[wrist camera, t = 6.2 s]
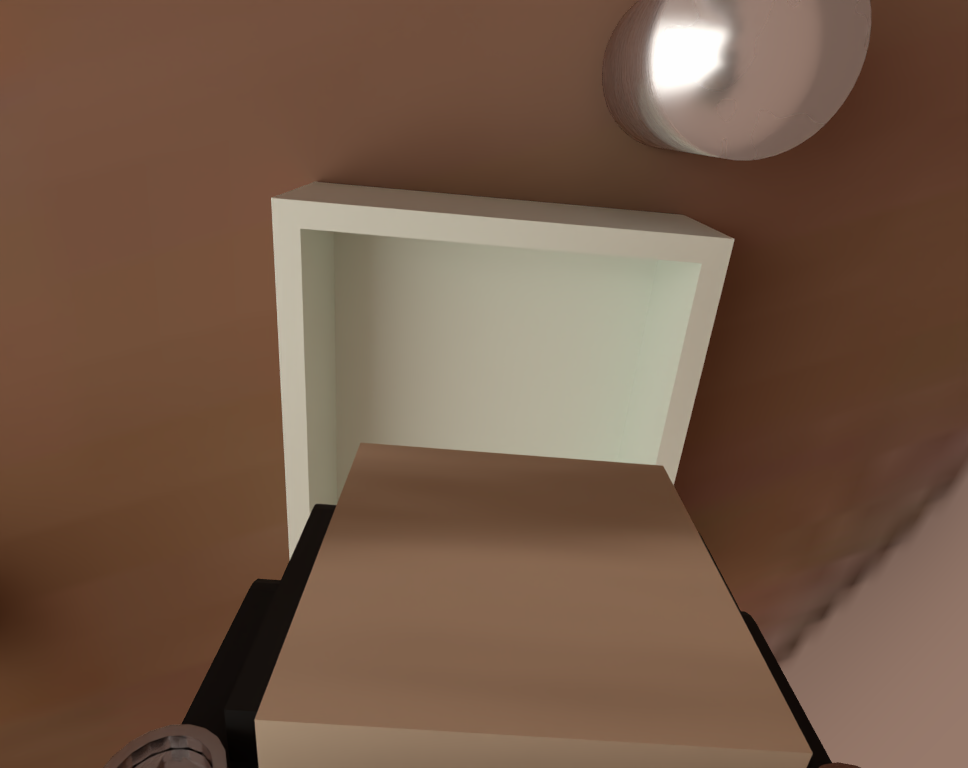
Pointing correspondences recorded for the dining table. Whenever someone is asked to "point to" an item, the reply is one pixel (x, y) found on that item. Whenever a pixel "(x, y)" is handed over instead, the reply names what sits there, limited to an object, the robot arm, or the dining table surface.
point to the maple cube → (518, 627)
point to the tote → (484, 329)
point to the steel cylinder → (733, 72)
